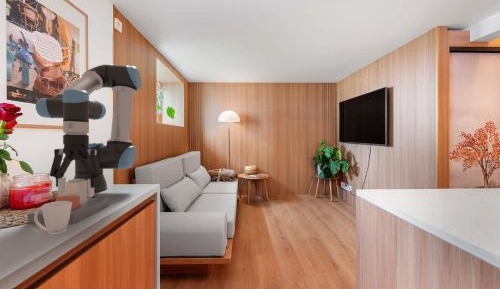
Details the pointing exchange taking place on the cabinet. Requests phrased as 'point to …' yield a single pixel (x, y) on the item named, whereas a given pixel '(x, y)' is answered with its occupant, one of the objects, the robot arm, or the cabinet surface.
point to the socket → (76, 211)
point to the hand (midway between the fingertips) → (76, 196)
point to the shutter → (73, 199)
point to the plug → (77, 189)
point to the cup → (55, 216)
